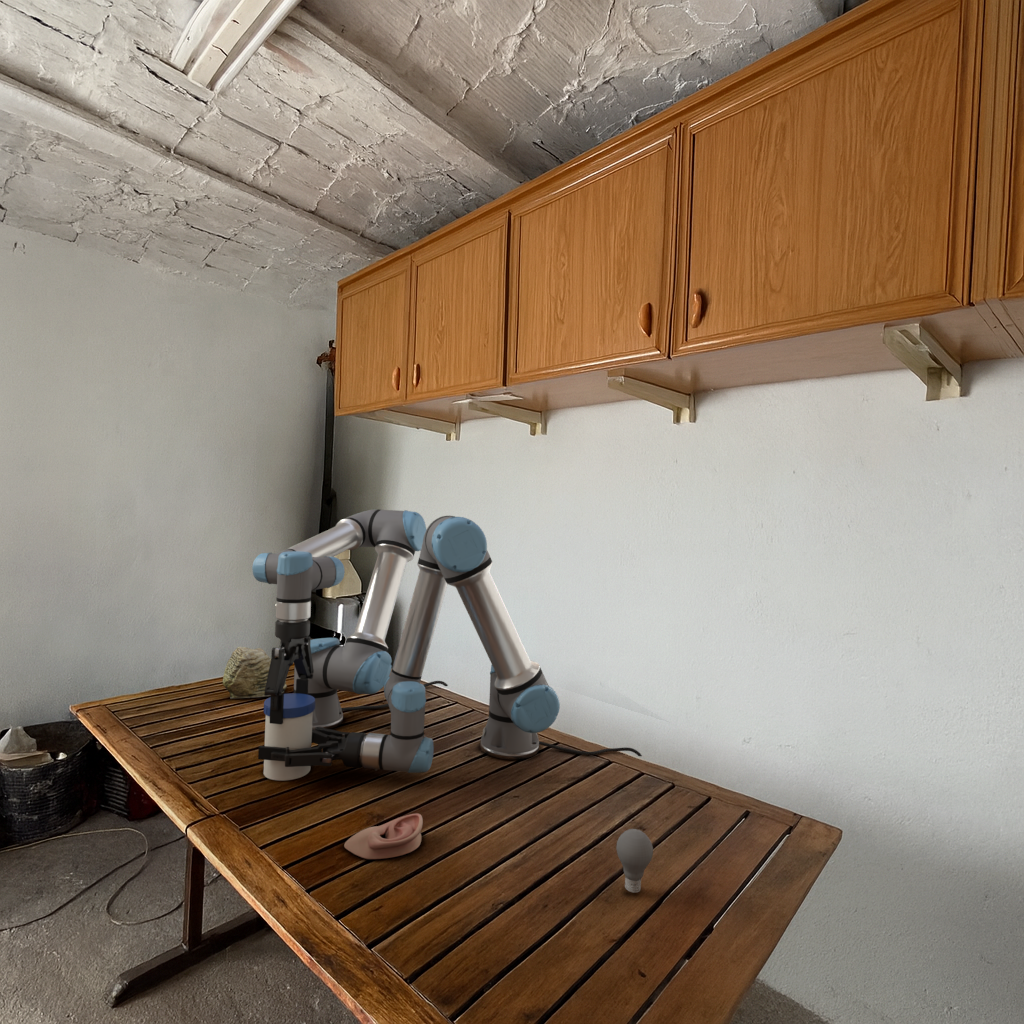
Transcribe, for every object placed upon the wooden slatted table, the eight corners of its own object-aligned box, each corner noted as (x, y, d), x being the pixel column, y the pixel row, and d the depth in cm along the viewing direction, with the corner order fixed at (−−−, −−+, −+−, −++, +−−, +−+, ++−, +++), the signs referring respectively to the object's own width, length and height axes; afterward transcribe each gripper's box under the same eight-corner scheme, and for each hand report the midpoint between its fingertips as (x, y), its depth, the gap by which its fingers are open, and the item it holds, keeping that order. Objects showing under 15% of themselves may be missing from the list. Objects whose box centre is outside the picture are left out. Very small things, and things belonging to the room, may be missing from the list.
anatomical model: (336, 832, 112) (364, 802, 124) (336, 854, 112) (363, 822, 124) (407, 843, 110) (429, 812, 121) (406, 866, 110) (428, 832, 121)
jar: (278, 759, 151) (281, 693, 151) (318, 764, 150) (321, 698, 149) (254, 777, 141) (256, 707, 141) (296, 783, 140) (298, 712, 139)
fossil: (218, 695, 195) (220, 647, 195) (278, 685, 208) (279, 640, 207) (228, 703, 189) (230, 653, 188) (289, 692, 201) (290, 645, 201)
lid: (280, 700, 152) (280, 691, 152) (323, 704, 150) (324, 695, 150) (253, 715, 141) (253, 705, 141) (299, 720, 139) (300, 710, 139)
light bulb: (610, 879, 108) (613, 822, 108) (644, 879, 109) (647, 822, 109) (619, 902, 102) (622, 840, 102) (655, 901, 103) (658, 840, 103)
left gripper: (301, 609, 157) (298, 697, 157) (249, 628, 134) (245, 731, 134) (330, 611, 156) (327, 700, 156) (282, 630, 133) (278, 734, 133)
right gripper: (346, 789, 133) (245, 781, 134) (378, 747, 155) (291, 740, 157) (348, 753, 132) (246, 745, 134) (379, 717, 155) (292, 710, 157)
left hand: (289, 714), depth 145 cm, fingers closed on lid, 11 cm apart
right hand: (270, 743), depth 146 cm, fingers closed on jar, 10 cm apart
